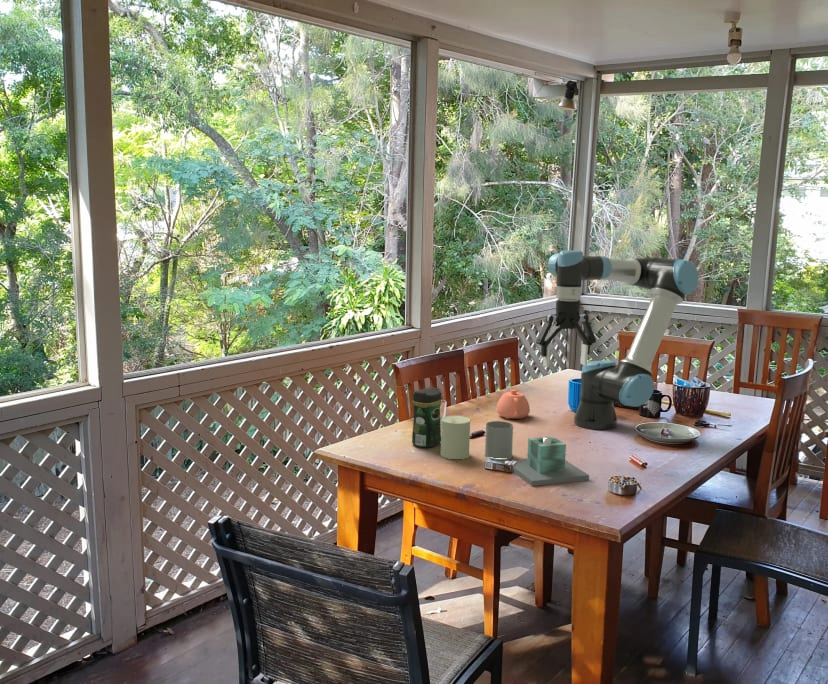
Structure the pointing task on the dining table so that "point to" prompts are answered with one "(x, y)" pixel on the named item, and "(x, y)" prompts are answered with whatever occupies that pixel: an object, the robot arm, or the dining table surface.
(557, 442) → the bead
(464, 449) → the can
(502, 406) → the sugar bowl
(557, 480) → the board
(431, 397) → the coffee jar
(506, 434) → the cup
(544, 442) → the rod
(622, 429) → the dining table surface
